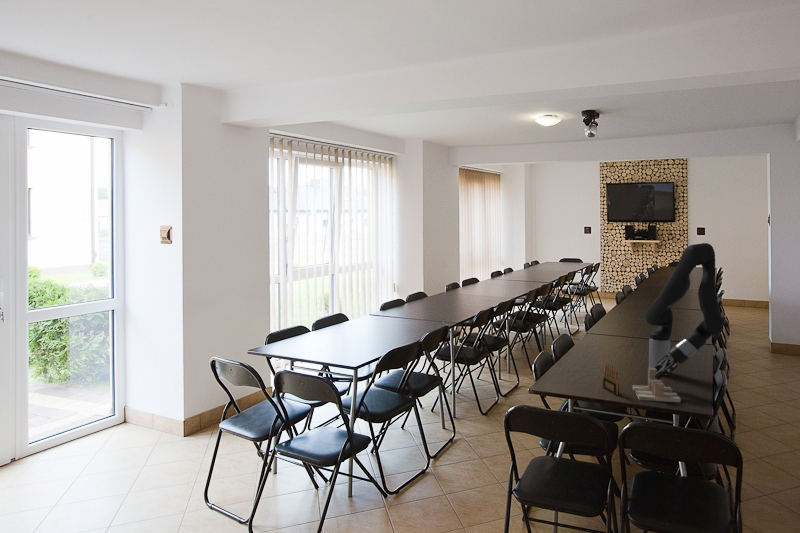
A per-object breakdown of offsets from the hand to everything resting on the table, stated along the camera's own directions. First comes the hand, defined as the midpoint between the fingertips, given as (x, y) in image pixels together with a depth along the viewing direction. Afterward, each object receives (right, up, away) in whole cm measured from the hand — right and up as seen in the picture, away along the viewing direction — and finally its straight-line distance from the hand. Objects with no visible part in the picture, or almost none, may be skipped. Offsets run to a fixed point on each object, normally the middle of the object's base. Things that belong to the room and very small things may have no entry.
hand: (654, 375), depth 244 cm
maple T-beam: (-1, -7, +1) cm, 7 cm away
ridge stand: (-3, -8, -10) cm, 13 cm away
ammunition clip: (-19, -7, 0) cm, 21 cm away
